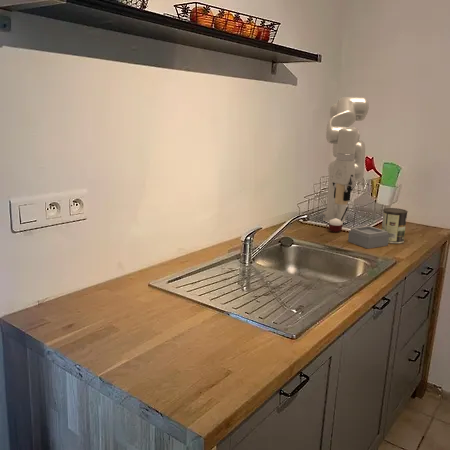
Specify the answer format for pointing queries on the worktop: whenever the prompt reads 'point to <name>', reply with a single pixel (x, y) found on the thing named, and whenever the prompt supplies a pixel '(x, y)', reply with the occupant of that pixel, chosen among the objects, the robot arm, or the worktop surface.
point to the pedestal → (368, 237)
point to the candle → (340, 194)
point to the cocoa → (336, 224)
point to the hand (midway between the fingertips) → (341, 198)
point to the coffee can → (394, 224)
